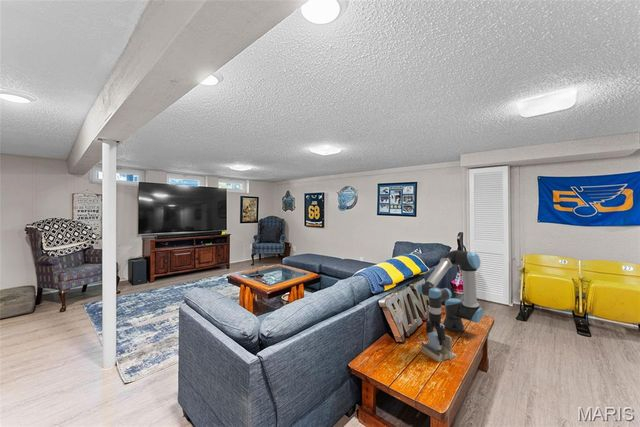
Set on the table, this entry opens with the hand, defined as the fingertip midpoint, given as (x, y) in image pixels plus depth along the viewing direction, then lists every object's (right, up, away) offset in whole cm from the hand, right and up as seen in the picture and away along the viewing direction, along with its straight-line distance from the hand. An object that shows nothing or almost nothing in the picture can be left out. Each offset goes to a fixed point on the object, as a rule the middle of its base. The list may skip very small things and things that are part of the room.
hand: (435, 346), depth 170 cm
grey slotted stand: (+3, -5, +1) cm, 6 cm away
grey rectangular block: (0, 0, 0) cm, 0 cm away
